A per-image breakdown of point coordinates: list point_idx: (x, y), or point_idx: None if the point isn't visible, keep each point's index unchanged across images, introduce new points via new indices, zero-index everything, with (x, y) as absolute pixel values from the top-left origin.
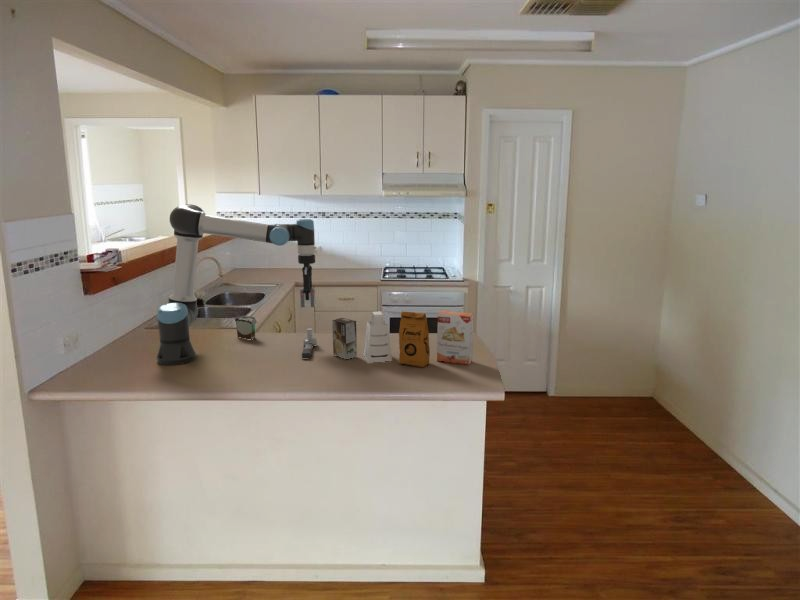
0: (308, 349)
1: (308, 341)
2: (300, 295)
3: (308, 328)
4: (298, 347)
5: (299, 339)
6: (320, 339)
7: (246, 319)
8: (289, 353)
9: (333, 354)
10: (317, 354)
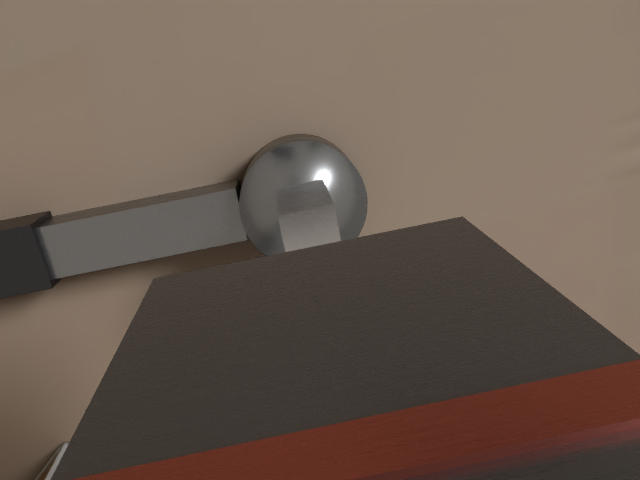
0: (13, 276)
1: (239, 210)
2: (63, 466)
3: (334, 217)
4: (237, 101)
5: (497, 28)
6: (502, 224)
7: None
8: (37, 74)
9: (59, 449)
10: (71, 320)
